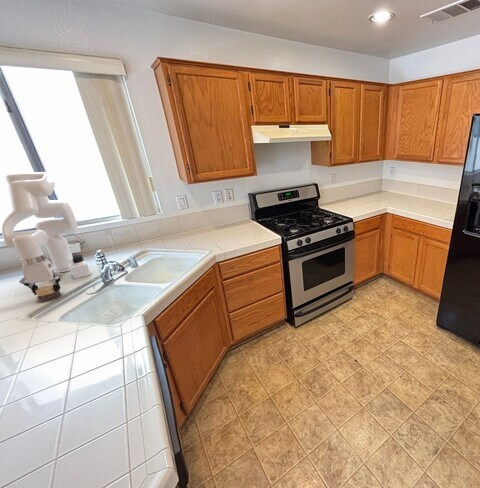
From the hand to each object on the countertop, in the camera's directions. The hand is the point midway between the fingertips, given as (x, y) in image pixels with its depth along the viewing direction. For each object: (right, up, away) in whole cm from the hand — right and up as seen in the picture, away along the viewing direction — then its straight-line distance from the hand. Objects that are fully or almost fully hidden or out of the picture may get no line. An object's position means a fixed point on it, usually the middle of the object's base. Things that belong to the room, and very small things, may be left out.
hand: (47, 291), depth 131 cm
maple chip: (0, 0, 0) cm, 0 cm away
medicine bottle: (-6, +5, +24) cm, 26 cm away
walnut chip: (0, -3, +1) cm, 3 cm away
